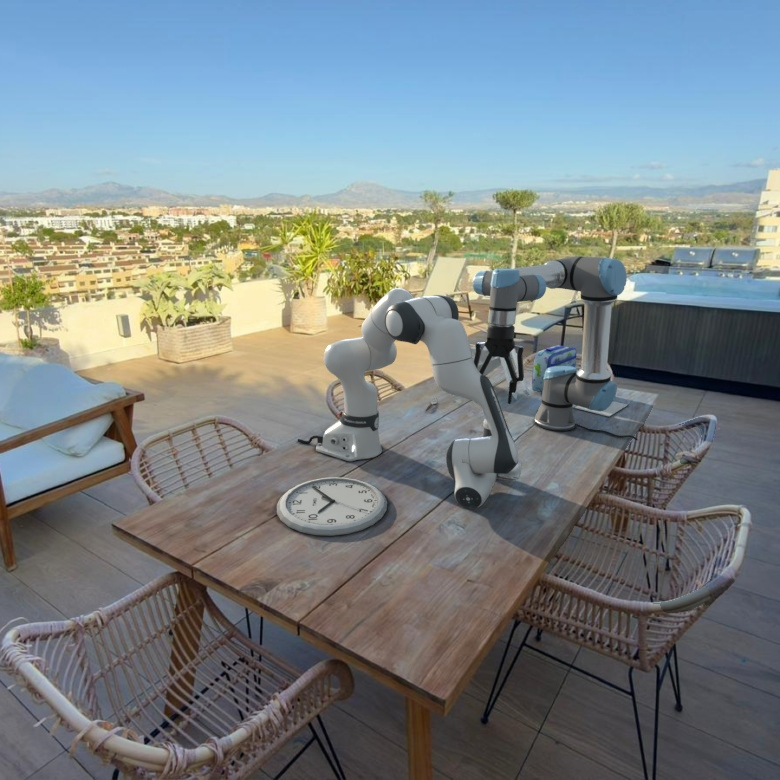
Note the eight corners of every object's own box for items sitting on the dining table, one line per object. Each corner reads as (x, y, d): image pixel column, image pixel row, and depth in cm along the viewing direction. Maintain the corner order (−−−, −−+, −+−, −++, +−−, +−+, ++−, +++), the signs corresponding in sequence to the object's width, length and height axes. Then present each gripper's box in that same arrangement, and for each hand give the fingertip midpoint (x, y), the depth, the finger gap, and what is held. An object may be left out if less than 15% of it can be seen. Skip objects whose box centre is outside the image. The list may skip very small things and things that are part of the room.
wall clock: (392, 527, 129) (268, 531, 127) (391, 533, 130) (269, 537, 127) (383, 473, 158) (282, 475, 155) (383, 478, 158) (282, 480, 156)
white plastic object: (461, 429, 252) (437, 405, 227) (444, 352, 274) (420, 323, 250) (535, 404, 240) (518, 377, 215) (510, 326, 262) (492, 293, 237)
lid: (488, 431, 154) (489, 425, 153) (479, 424, 160) (480, 418, 159) (506, 429, 156) (507, 423, 155) (497, 422, 161) (497, 416, 161)
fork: (422, 411, 216) (422, 407, 215) (433, 400, 230) (433, 396, 230) (428, 412, 215) (429, 407, 215) (438, 401, 230) (439, 396, 229)
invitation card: (608, 416, 214) (573, 407, 224) (608, 416, 214) (573, 408, 224) (628, 404, 229) (594, 396, 238) (628, 405, 229) (594, 397, 238)
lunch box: (548, 398, 236) (553, 353, 229) (527, 393, 243) (531, 349, 237) (575, 387, 253) (581, 344, 247) (555, 382, 260) (560, 341, 254)
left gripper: (519, 470, 144) (526, 451, 157) (447, 457, 152) (460, 440, 164) (517, 490, 146) (524, 470, 159) (446, 477, 154) (458, 458, 166)
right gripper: (539, 325, 148) (531, 401, 155) (468, 319, 155) (463, 393, 162) (537, 329, 142) (529, 409, 149) (462, 324, 148) (458, 400, 155)
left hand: (491, 455), depth 161 cm, fingers closed on jar, 5 cm apart
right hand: (495, 400), depth 155 cm, fingers open, 8 cm apart
